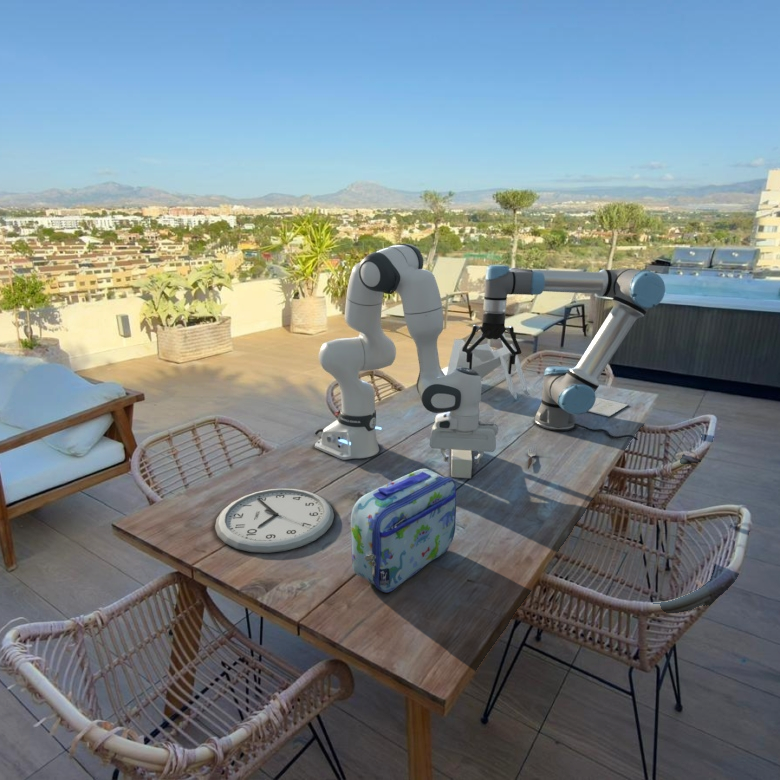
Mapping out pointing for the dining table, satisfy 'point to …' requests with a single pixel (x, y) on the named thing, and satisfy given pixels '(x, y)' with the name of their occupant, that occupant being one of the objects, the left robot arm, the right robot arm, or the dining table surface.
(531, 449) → the fork
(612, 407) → the invitation card
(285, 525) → the wall clock
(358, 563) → the lunch box
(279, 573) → the dining table surface
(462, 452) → the peg block
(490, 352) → the white plastic object
